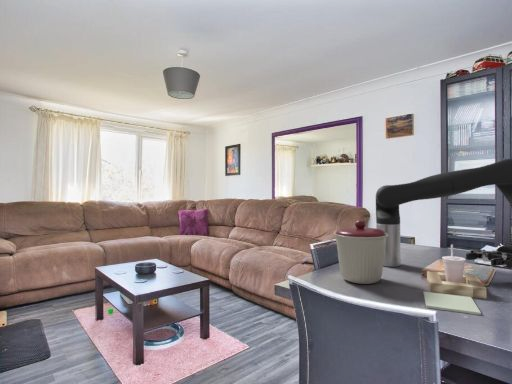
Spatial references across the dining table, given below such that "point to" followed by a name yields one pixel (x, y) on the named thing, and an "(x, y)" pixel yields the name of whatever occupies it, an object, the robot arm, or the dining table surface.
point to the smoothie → (453, 267)
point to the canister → (361, 253)
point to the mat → (451, 303)
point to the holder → (456, 285)
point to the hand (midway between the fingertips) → (479, 259)
